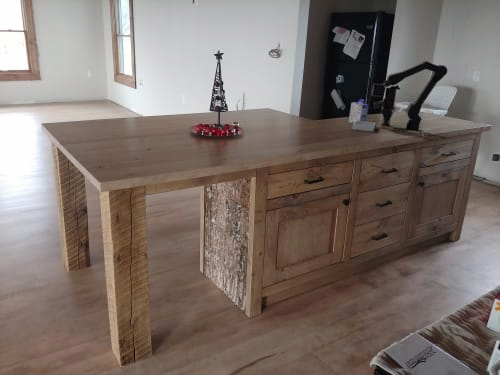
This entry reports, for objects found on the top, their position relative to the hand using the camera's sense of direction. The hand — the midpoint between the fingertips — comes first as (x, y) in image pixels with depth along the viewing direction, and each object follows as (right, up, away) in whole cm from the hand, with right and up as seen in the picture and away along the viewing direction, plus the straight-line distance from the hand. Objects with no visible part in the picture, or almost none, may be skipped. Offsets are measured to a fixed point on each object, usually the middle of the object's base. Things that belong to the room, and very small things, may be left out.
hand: (385, 124), depth 259 cm
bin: (-14, -4, -5) cm, 16 cm away
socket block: (0, -3, +1) cm, 3 cm away
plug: (0, -2, +1) cm, 2 cm away
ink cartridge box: (-13, +2, +13) cm, 19 cm away
